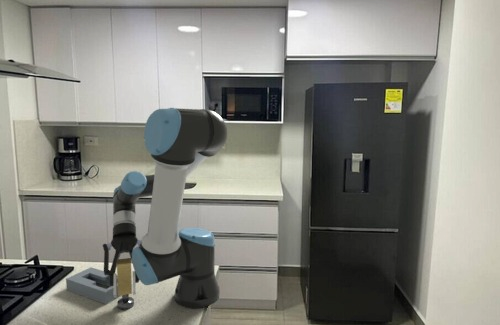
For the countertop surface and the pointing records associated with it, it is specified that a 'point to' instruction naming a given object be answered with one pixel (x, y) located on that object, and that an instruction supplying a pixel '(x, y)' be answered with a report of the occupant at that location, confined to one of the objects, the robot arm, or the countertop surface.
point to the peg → (124, 284)
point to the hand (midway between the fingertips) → (124, 294)
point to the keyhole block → (92, 285)
